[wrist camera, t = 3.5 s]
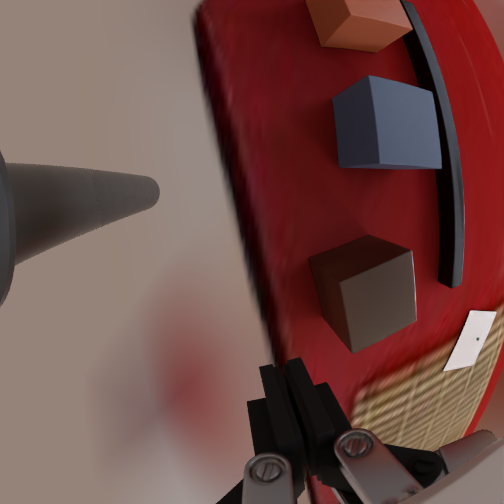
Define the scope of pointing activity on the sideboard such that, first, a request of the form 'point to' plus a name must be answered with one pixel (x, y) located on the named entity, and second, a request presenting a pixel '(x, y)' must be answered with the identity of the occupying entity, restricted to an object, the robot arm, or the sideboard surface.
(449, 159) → the rail
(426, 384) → the sideboard surface
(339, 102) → the slate blue block
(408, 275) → the walnut block
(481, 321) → the coaster
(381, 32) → the terracotta block
